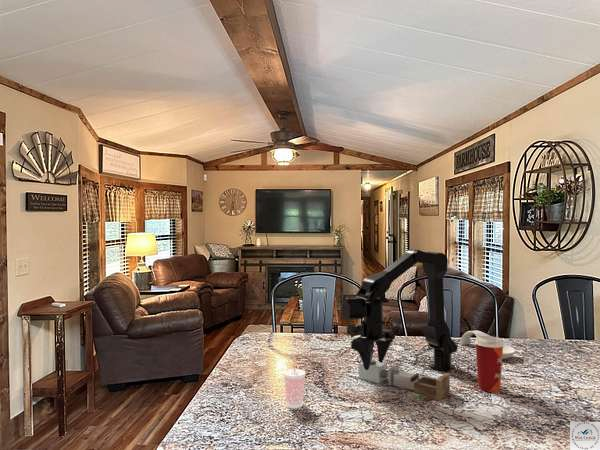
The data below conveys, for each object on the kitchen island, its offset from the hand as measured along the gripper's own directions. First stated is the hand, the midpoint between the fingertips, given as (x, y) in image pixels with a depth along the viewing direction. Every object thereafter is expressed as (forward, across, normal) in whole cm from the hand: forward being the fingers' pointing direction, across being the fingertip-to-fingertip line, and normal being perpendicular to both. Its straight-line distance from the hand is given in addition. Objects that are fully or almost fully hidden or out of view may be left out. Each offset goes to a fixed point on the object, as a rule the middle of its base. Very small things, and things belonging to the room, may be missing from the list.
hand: (373, 365), depth 143 cm
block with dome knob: (+4, 0, 0) cm, 4 cm away
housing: (+4, +1, +19) cm, 19 cm away
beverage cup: (+4, +31, -8) cm, 32 cm away
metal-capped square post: (+4, +1, +11) cm, 12 cm away
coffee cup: (+4, -14, +32) cm, 35 cm away
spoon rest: (+5, -51, +20) cm, 55 cm away
